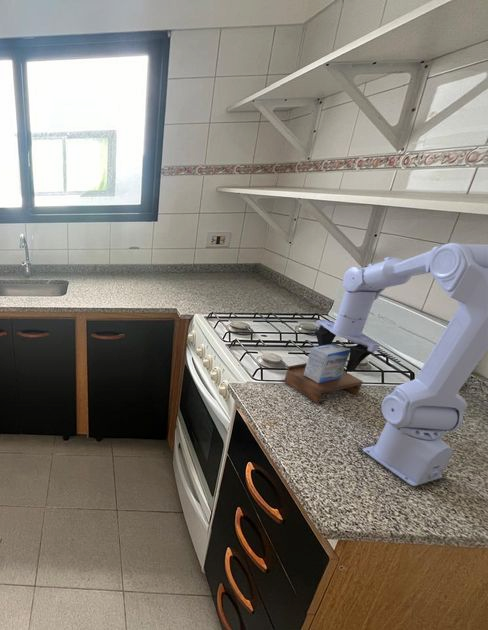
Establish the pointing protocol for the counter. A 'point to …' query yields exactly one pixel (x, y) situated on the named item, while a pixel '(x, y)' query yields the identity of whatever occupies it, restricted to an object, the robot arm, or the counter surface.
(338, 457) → the counter surface
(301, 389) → the wooden display riser
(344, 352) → the medicine box
